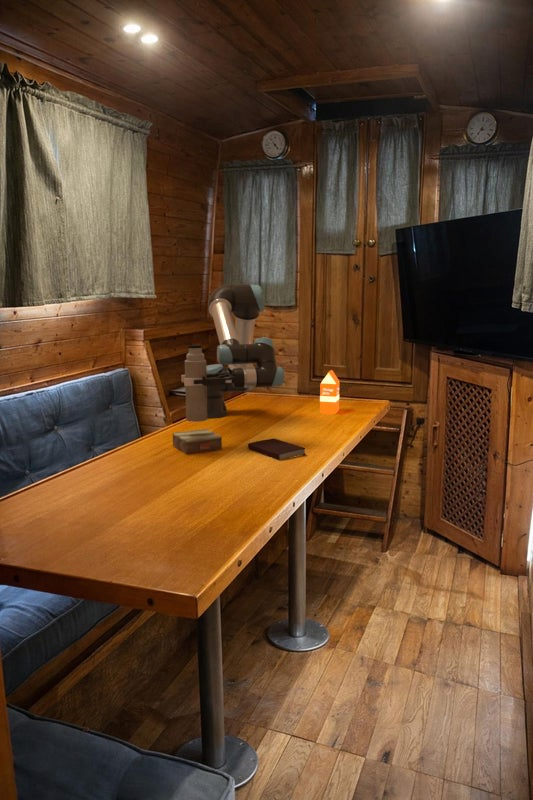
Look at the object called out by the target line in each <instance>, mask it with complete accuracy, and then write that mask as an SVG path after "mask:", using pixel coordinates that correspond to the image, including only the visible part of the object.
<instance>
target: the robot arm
mask: <svg viewBox="0 0 533 800" xmlns="http://www.w3.org/2000/svg"><path fill="white" fill-rule="evenodd" d="M264 297H265V296H264V291H263V289H262V287H261V286H260V285H259V284H252V283H249V284H223V285H221V286H219V287H217V288H216V289H215V290H213V292H211V294H210V296H209V298H208V302H207V308H208V313H209V315H210V316H211V317H212V318H213V322H214V326H215V330H216V335H217V338H218V342H219V345H217V348H216V358H217V362H218V363H216V364H209V365H208V364H206V369H207V378H205V376H203V380H202V378H185V374H181V383H183V385H184V387H185V386H195V385H202V384H203V385H205V386H207V419H215V418H223V417H226V416H227V415H228V409H227V406H226V404H225V400H224V393H236V392H239V393H245V392H251V391H252V390H253V389H254V388H273V387H281V386H283V385H284V381H285V370H284V368H283V367H281V366H277V362H276V355H275V354H276V353H275V348H274V347H275V346H274V343H273V340H272V339H271V338H270V337H266V336H265V337H264V336H263V337H258V338H256V339H254V334H255V333H254V332H255V323H256V320H257V319H258V318H259V317H260V313H263V312H264V311H265V298H264ZM232 315H233V316H234V317H235V320H233V316H232ZM234 321H235V323H234ZM254 364H255V365H256V367H255V366H254ZM223 365H227V367H224V366H223Z"/></svg>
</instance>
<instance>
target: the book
mask: <svg viewBox="0 0 533 800" xmlns="http://www.w3.org/2000/svg"><path fill="white" fill-rule="evenodd" d="M247 449H248V450H250V451H252V452H255V453H258V454H261V455H264V456H266V457H270V458H271V457H272V459H274V460H277V461H282V460H281V459H283V460H287V459H286V458H289V459H291V458H290V457H294V456H298V455H303V456H306V455H305V454H306V447H303V446H300V445H297V444H294V443H290V442H287V441H284V440H280V439H277V438H268V439H262V440H257V441H252V442H249V443H248V444H247ZM294 458H295V457H294Z"/></svg>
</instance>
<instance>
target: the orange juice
mask: <svg viewBox="0 0 533 800" xmlns="http://www.w3.org/2000/svg"><path fill="white" fill-rule="evenodd" d="M319 387H320V388H319V390H320V391H319V392H320V393H319V414H320V413H323V414H322V415H332V414H336V413H337V412H338V411H340V379H339V378H338V377H337V375H336V374H335V372H334V370H333V369H331V370H329V371H328V372H327V374H326V376H325V377H324V378H323V380H322V381H321V382H320V386H319ZM338 413H339V412H338ZM338 413H337V414H338ZM337 414H336V415H337Z"/></svg>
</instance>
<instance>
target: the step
mask: <svg viewBox="0 0 533 800" xmlns="http://www.w3.org/2000/svg"><path fill="white" fill-rule="evenodd" d="M222 437H223V436H222V435H219V434H218V433H215V432H213V431H212V430H210V429H208V428H203V429H195V430H187V431H179V432H172V447H174V448H175V449H178V450H179V451H181V452H182V453H184V454H186V455H191V454H198V453H206V452H213V451H220V450H223V449H222V448H223V445H222V444H223V443H222V442H223V441H222Z"/></svg>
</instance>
